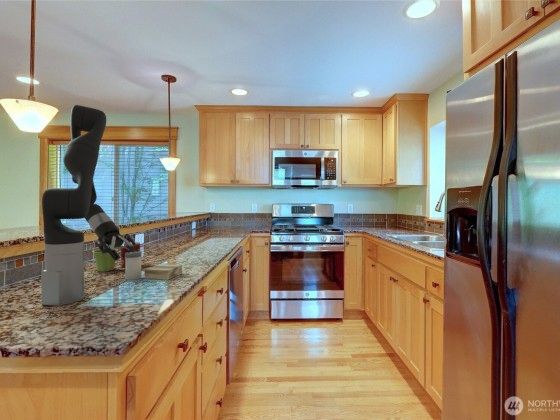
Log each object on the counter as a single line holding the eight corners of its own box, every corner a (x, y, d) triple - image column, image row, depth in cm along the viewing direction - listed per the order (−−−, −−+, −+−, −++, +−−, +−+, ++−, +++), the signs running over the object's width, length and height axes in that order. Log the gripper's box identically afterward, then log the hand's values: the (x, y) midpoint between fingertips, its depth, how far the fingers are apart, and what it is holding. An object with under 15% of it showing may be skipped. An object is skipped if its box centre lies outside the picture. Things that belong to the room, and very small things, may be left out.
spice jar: (134, 280, 105) (134, 254, 105) (121, 279, 106) (121, 253, 106) (144, 277, 111) (144, 251, 110) (132, 276, 112) (132, 251, 112)
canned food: (134, 268, 125) (134, 243, 125) (117, 268, 126) (117, 243, 125) (143, 264, 133) (143, 241, 133) (126, 264, 133) (126, 241, 133)
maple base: (167, 279, 107) (167, 270, 107) (144, 278, 109) (144, 269, 109) (181, 273, 117) (181, 265, 116) (160, 272, 118) (160, 263, 118)
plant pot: (96, 268, 125) (96, 249, 124) (120, 267, 127) (120, 248, 127) (89, 273, 116) (89, 252, 115) (115, 272, 118) (114, 251, 118)
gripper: (92, 221, 104) (117, 253, 102) (123, 219, 118) (146, 247, 115) (81, 235, 106) (105, 267, 103) (113, 231, 120) (135, 260, 117)
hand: (127, 257), depth 109 cm, fingers open, 8 cm apart
